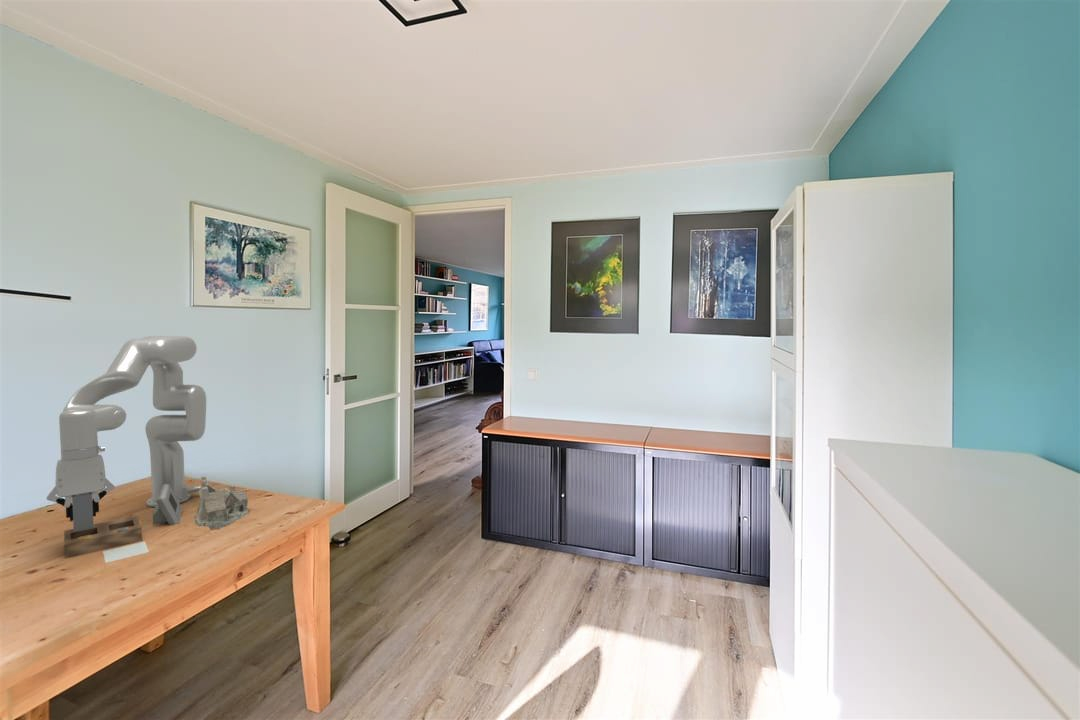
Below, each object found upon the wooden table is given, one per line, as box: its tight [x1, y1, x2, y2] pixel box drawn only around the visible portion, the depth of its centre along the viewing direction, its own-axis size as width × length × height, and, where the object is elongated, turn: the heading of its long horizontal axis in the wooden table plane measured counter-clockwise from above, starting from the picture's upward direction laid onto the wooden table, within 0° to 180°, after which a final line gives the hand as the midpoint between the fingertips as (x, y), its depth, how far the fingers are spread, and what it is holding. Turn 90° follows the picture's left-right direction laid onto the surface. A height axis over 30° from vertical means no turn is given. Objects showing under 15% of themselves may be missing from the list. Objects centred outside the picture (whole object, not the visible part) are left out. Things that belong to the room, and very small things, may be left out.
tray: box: [102, 541, 149, 564], centre depth 133 cm, size 9×9×1 cm
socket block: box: [63, 515, 143, 559], centre depth 139 cm, size 16×12×5 cm
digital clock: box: [152, 484, 183, 526], centre depth 157 cm, size 16×9×11 cm, turn 23°
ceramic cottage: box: [193, 475, 250, 530], centre depth 159 cm, size 16×16×15 cm
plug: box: [71, 493, 94, 532], centre depth 135 cm, size 4×4×10 cm
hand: (83, 516), depth 135 cm, fingers closed on plug, 4 cm apart
